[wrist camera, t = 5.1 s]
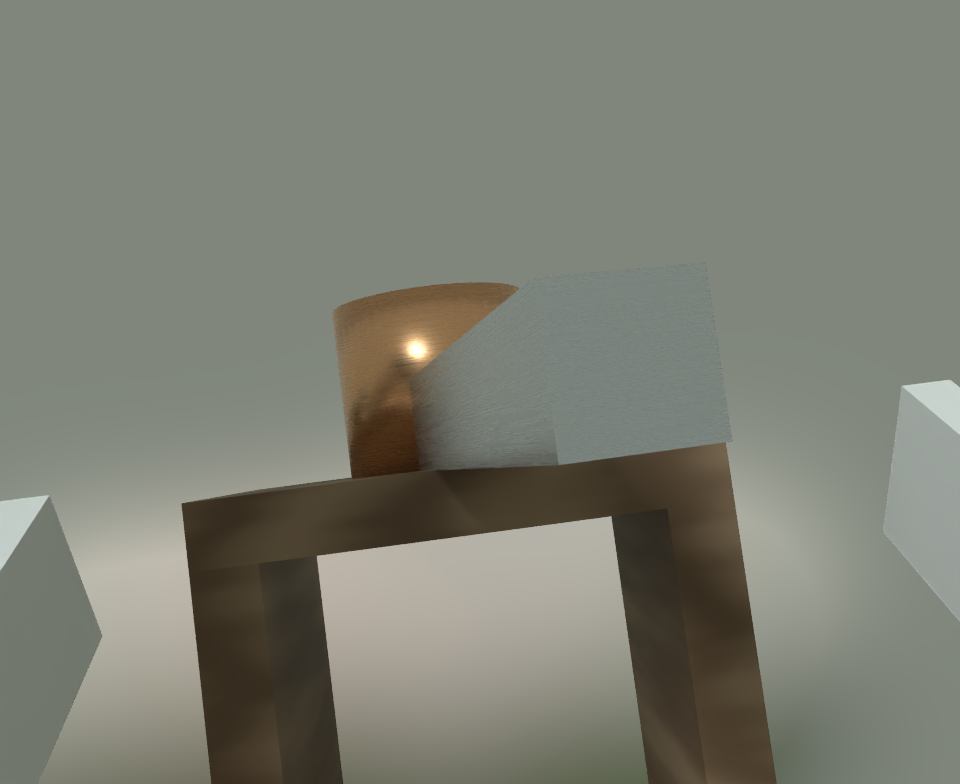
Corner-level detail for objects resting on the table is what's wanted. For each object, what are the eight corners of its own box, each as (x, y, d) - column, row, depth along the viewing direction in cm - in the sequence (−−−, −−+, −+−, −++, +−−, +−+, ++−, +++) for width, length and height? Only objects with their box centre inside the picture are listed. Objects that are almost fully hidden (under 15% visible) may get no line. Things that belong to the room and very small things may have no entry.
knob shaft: (433, 482, 13) (385, 99, 14) (345, 478, 35) (328, 328, 35) (839, 426, 15) (785, 84, 15) (516, 455, 36) (497, 312, 37)
